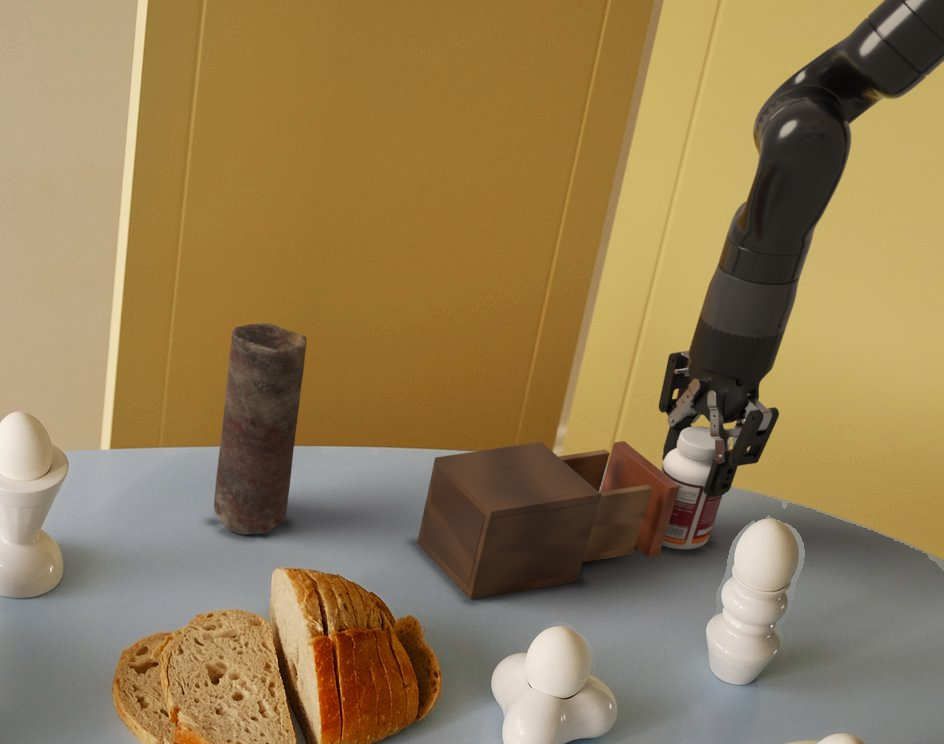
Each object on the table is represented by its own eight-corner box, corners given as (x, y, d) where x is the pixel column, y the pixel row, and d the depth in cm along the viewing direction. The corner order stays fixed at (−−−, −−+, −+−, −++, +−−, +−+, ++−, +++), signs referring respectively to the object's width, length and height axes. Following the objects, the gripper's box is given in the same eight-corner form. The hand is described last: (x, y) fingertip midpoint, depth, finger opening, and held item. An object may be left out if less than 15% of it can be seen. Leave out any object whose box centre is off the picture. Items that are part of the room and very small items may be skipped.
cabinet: (519, 526, 178) (541, 441, 172) (577, 581, 170) (601, 494, 164) (416, 543, 175) (434, 457, 169) (470, 599, 167) (491, 511, 161)
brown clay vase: (198, 506, 180) (219, 322, 168) (261, 493, 182) (286, 311, 170) (234, 542, 175) (258, 355, 162) (298, 529, 177) (327, 343, 164)
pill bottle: (692, 518, 179) (724, 421, 172) (717, 551, 174) (751, 451, 167) (633, 520, 179) (662, 422, 172) (656, 553, 174) (687, 453, 167)
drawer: (615, 507, 179) (634, 439, 174) (669, 554, 172) (691, 484, 167) (513, 524, 176) (530, 454, 171) (564, 572, 169) (583, 501, 164)
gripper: (829, 344, 157) (771, 508, 168) (731, 281, 168) (682, 438, 179) (758, 354, 156) (704, 519, 166) (663, 289, 166) (618, 448, 177)
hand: (693, 476), depth 172 cm, fingers closed on pill bottle, 6 cm apart
